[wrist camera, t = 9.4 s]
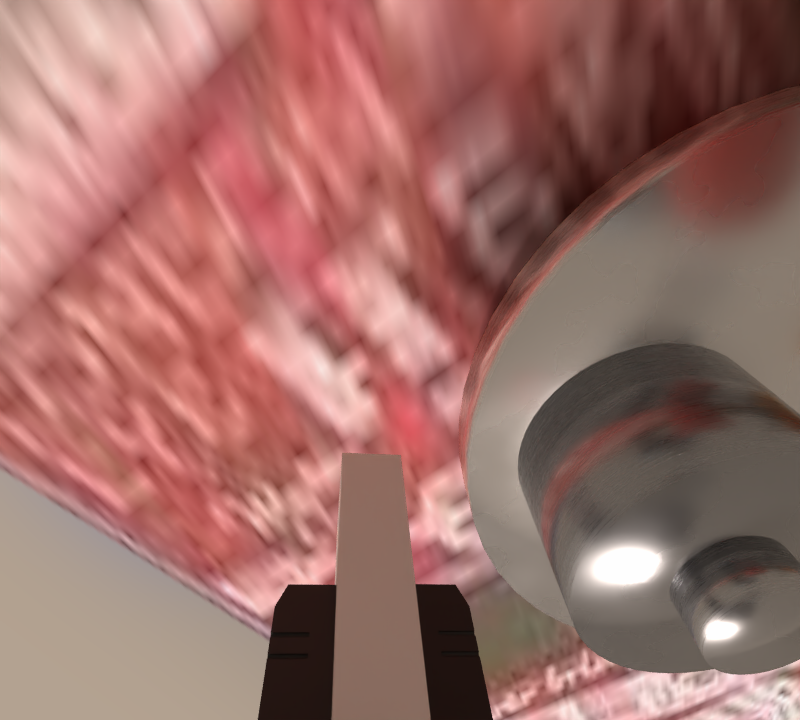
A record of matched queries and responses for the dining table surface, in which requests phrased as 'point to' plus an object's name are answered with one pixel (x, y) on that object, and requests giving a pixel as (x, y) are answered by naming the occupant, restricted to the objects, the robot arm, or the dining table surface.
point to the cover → (671, 510)
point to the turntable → (640, 301)
